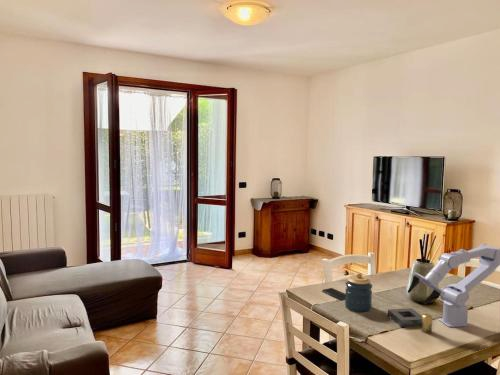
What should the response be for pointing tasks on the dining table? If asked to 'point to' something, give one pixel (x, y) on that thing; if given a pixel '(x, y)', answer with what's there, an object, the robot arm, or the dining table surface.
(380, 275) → the dining table surface
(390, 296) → the dining table surface
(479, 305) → the dining table surface
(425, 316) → the piston
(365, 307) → the canister
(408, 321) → the grey square socket block
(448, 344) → the dining table surface
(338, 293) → the phone
